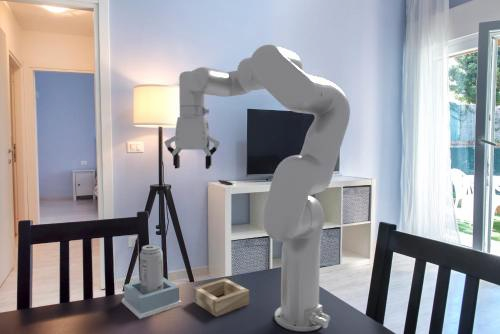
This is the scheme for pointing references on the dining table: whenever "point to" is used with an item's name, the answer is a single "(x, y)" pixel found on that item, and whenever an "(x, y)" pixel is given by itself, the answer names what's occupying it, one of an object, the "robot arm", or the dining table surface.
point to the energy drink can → (151, 269)
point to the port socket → (151, 299)
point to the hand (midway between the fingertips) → (192, 168)
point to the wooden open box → (218, 306)
